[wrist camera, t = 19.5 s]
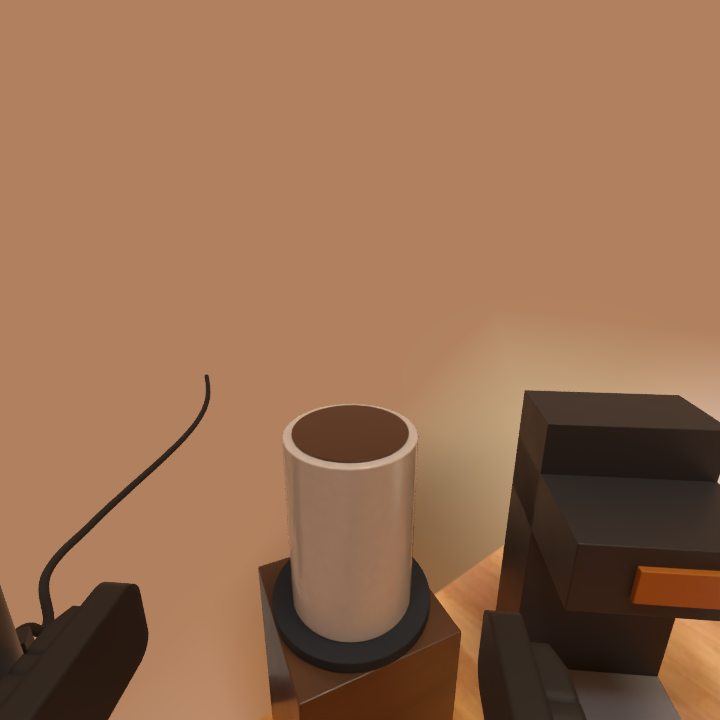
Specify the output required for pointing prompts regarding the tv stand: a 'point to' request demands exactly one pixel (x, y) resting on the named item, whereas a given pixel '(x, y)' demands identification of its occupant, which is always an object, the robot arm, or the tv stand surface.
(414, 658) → the brown box
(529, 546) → the coffee machine
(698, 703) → the tv stand surface
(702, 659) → the tv stand surface
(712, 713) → the tv stand surface
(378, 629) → the white cup
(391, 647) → the coaster
